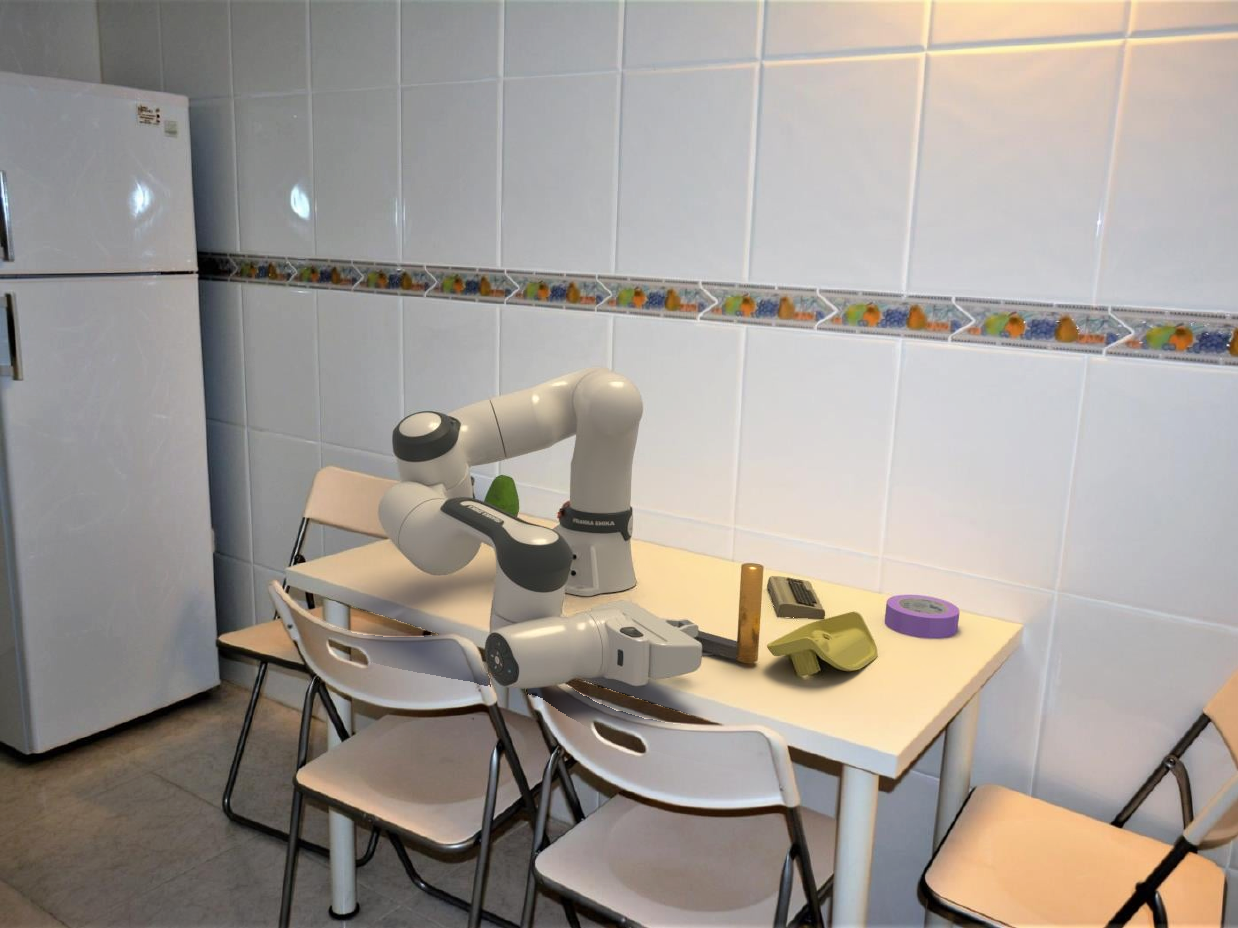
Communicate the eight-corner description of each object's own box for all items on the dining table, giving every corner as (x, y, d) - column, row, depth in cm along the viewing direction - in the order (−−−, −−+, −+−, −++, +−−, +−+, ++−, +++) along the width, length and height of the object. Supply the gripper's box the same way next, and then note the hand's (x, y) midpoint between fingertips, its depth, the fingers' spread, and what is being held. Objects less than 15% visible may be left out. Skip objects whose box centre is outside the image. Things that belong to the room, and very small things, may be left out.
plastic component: (808, 623, 163) (865, 607, 157) (823, 668, 162) (881, 654, 156) (755, 650, 146) (817, 634, 141) (771, 700, 145) (834, 686, 140)
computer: (825, 622, 171) (826, 603, 171) (777, 620, 171) (778, 601, 171) (810, 593, 187) (812, 575, 186) (766, 591, 187) (767, 573, 186)
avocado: (521, 532, 220) (522, 478, 218) (484, 533, 218) (485, 478, 216) (516, 523, 228) (517, 470, 225) (481, 524, 226) (481, 471, 224)
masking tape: (962, 623, 172) (964, 601, 172) (951, 644, 162) (953, 621, 161) (892, 611, 177) (894, 590, 177) (877, 631, 167) (879, 609, 166)
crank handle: (664, 641, 156) (668, 552, 154) (679, 633, 160) (683, 546, 157) (749, 665, 148) (754, 571, 145) (763, 657, 151) (769, 565, 149)
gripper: (571, 638, 147) (653, 625, 153) (643, 691, 129) (733, 673, 136) (572, 596, 145) (655, 584, 152) (645, 644, 128) (735, 628, 135)
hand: (692, 627), depth 144 cm, fingers closed
